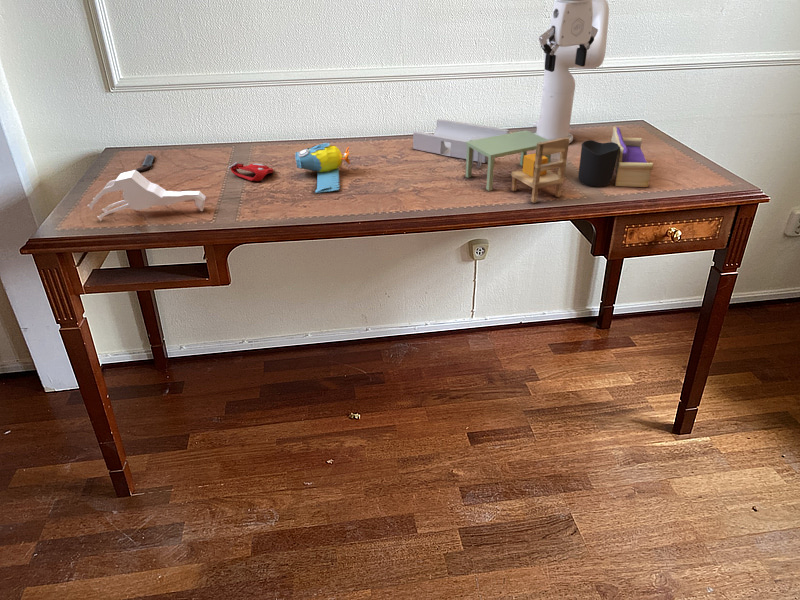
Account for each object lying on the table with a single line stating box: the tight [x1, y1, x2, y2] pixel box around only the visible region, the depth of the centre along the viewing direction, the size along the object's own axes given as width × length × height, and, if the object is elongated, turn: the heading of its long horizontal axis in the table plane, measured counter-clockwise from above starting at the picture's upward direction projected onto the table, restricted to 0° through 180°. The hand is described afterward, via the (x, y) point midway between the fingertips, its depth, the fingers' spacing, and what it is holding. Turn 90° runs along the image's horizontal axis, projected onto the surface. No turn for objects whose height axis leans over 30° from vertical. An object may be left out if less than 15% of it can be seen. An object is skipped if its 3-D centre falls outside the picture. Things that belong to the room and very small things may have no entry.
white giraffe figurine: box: [87, 169, 207, 222], centre depth 149 cm, size 5×16×25 cm
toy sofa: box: [610, 126, 654, 188], centre depth 166 cm, size 21×9×10 cm, turn 170°
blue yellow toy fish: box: [294, 142, 351, 194], centre depth 170 cm, size 28×9×15 cm
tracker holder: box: [228, 161, 274, 182], centre depth 170 cm, size 12×4×10 cm
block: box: [521, 152, 548, 177], centre depth 155 cm, size 4×4×4 cm
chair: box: [510, 137, 570, 204], centre depth 154 cm, size 10×9×15 cm
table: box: [465, 129, 552, 192], centre depth 165 cm, size 12×20×10 cm, turn 117°
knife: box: [135, 153, 155, 173], centre depth 181 cm, size 14×4×1 cm, turn 11°
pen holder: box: [577, 139, 619, 188], centre depth 161 cm, size 9×9×10 cm
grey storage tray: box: [412, 118, 510, 169], centre depth 184 cm, size 25×21×8 cm
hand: (564, 67), depth 154 cm, fingers open, 9 cm apart
